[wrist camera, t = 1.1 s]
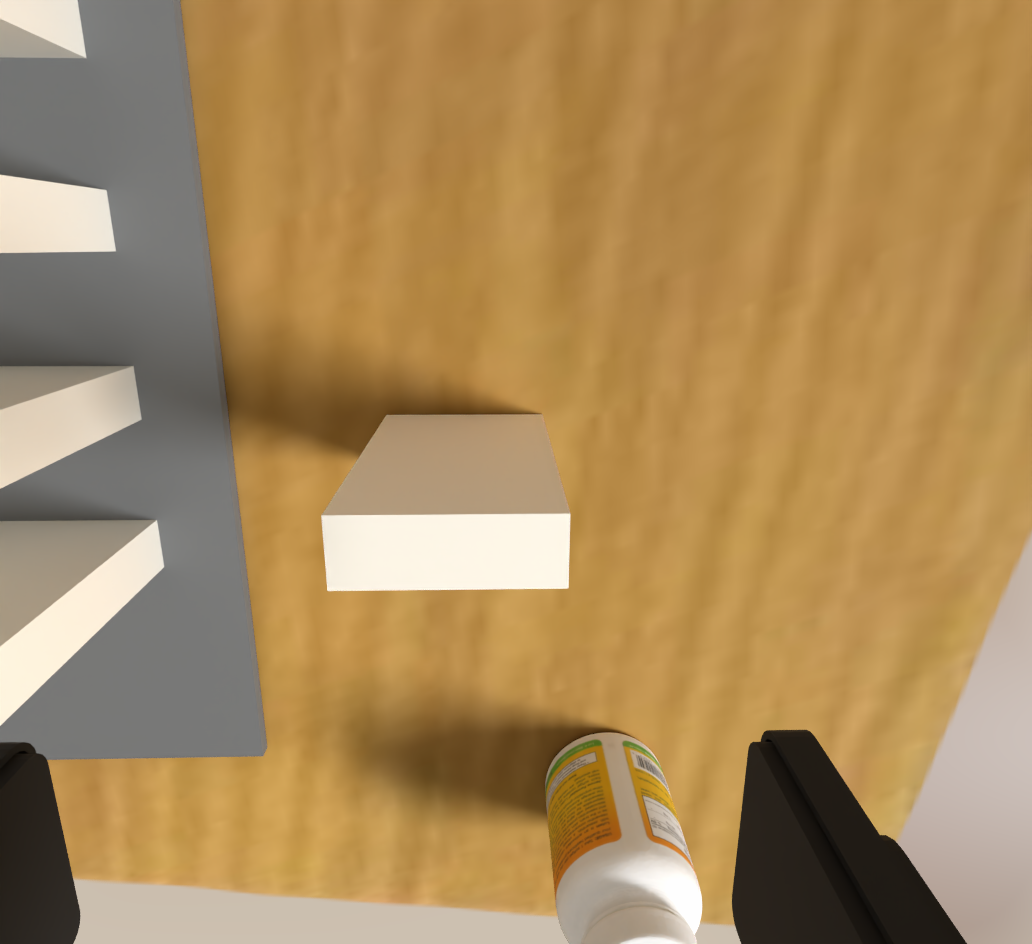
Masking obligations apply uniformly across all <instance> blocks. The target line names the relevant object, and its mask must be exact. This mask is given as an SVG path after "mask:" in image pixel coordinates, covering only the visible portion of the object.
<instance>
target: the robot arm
mask: <svg viewBox="0 0 1032 944" xmlns="http://www.w3.org/2000/svg"><path fill="white" fill-rule="evenodd" d="M732 910H733V917H734V922H735V926H736V930H737V933H738V936H739V938H740V941H741V944H967V943H966V942H965V940H964V939H963V937H962V936H961V935H960V933H959V931H958V930H957V929H956V927H955V926H954V924H953V923H952V921H951V920H950V918H949V917H948V915H947V914H946V912H945V911H944V910H943V908H942V907H941V905H940V904H939V902H938V901H937V899H936V898H935V896H934V895H933V894H932V892H931V890H930V889H929V888H928V886H927V885H926V884H925V882H924V880H923V879H922V877H921V876H920V874H919V873H918V871H917V870H916V868H915V867H914V866H913V864H912V863H911V861H910V860H909V858H908V857H907V855H906V854H905V853H904V851H903V850H902V849H901V847H900V846H899V845H898V844H897V843H896V842H895V840H893V839H891V838H890V837H888V836H886V835H879V833H878V832H877V830H876V829H875V827H874V826H873V824H872V823H871V821H870V820H869V818H868V817H867V815H866V814H865V812H864V811H863V809H862V808H861V806H860V804H859V803H858V801H857V800H856V798H855V797H854V795H853V794H852V792H851V791H850V789H849V788H848V786H847V785H846V783H845V782H844V780H843V779H842V777H841V776H840V774H839V773H838V771H837V770H836V768H835V767H834V765H833V764H832V762H831V761H830V759H829V758H828V756H827V755H826V753H825V751H824V750H823V748H822V747H821V745H820V744H819V742H818V741H817V739H816V738H815V736H814V735H813V734H812V733H811V732H810V731H808V730H769V731H765V732H764V733H763V735H762V738H761V742H752V743H751V744H750V746H749V750H748V758H747V767H746V776H745V785H744V794H743V803H742V812H741V821H740V830H739V839H738V848H737V857H736V867H735V876H734V885H733V894H732ZM79 924H80V909H79V904H78V900H77V895H76V891H75V886H74V881H73V877H72V872H71V867H70V863H69V858H68V853H67V849H66V844H65V840H64V835H63V830H62V826H61V821H60V816H59V812H58V807H57V803H56V798H55V793H54V789H53V784H52V780H51V775H50V770H49V766H48V762H47V759H46V757H45V756H44V755H43V754H39V753H36V750H35V748H34V747H33V746H32V745H31V744H30V743H26V742H0V944H73V943H74V941H75V938H76V935H77V933H78V928H79Z"/></svg>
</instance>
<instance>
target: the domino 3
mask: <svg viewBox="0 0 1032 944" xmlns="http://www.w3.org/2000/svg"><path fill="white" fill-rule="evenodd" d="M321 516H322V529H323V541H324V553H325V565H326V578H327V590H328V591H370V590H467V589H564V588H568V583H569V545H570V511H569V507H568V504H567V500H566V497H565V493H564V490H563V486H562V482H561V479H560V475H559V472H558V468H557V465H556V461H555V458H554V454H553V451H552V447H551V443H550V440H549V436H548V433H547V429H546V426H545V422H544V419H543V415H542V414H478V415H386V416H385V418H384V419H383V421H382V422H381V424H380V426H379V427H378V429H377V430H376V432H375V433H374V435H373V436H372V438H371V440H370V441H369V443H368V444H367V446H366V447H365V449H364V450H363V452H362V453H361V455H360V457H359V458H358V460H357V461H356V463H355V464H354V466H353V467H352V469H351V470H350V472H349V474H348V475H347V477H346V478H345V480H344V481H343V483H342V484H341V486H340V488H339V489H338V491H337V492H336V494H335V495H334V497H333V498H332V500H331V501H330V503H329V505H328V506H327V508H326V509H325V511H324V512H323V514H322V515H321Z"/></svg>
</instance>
